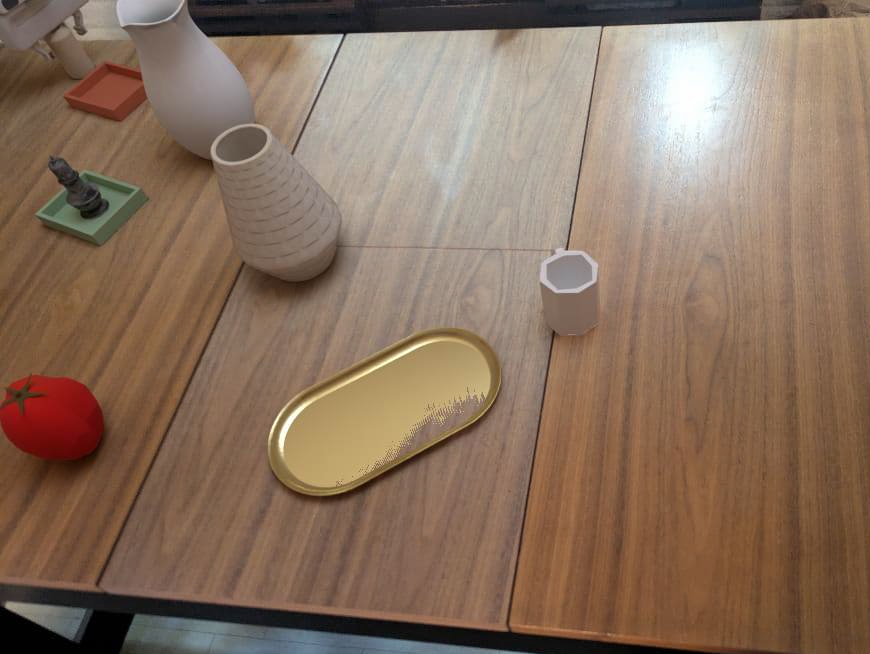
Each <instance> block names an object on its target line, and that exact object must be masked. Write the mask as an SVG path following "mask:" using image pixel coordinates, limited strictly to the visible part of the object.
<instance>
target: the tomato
mask: <svg viewBox="0 0 870 654" xmlns="http://www.w3.org/2000/svg"><path fill="white" fill-rule="evenodd" d="M4 389H5V390H6V392H5V399H4V400H2V401H1V403H0V427H1V429H2V432H4V435H5V437H6V438H7V439H8V441H10V442H11V444H12V445H14V447H16V448H17V449H18V450H20V451H21V452H23V453H25V454H28V455H31V456H35V457H38V458H41V459H45V460H51V461H68V460H69V461H70V460H78V459H81V458H82V457H84V456H87V455H89V454H91V453H92V452H93V451H94V450H95V449H96V448H97V447H98V446H99V443H100V440H101V438H102V435H103V432H104V429H105V422H104V413H103V410H102V408H101V405H100V404H99V401H98V400H97V398H96V397H95V395H94V394H93V392H92V391H91V390H90V389H89V388H88V386H87V384H84V383H82V382H80V381H78V380H76V379H75V378H70V377H64V376H63V377H59V376H58V377H50V376H47V375H41V374H33V372H31V373H30V374H29V375H28V376H25V377H23V378H21V379H17V380H15V381H12V382H11V383H10V384H9V385H8V387H4Z"/></svg>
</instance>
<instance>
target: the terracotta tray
mask: <svg viewBox="0 0 870 654" xmlns="http://www.w3.org/2000/svg"><path fill="white" fill-rule="evenodd" d="M62 97H63V98H64V100H65V101H66V103H67V104H68V105H69V107H71V108H74V109H78V110H79V111H84V112H87V113H91V114H94V115H98V116H100V117H104V118H107V119H111V120H113V121H118V122H122V121H123V120H125V119H126V117H128V116H129V115H130V114H131V113H132V112H134V110H136V108H138V107H139V106H140V105H141V104H143V102H144V101H146V100H147V99H148V98H147V95H146V91H145V88H144V84H143V79H142V74H141V69H140V68H136V67H132V66H128V65H125V64H124V65H123V64H120V63H116V62H112V61H109V60H103V61H102V62H101V63H100V64H99V65H98V66H96V67H95V69H94V70H93V71H92V72H91V73H89V74H88V75H87V76H86V77H85V78H82V79H80V81H79V82H77V83H76V84H75V85H74V86H72V87H71V88H70V89H69V90H68V91H66V92H65V93H64V94H62Z"/></svg>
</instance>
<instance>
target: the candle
mask: <svg viewBox="0 0 870 654" xmlns="http://www.w3.org/2000/svg"><path fill="white" fill-rule="evenodd" d="M42 39H43V40H44V42H45V43H46V45H47V46H48V47H49V50H51V51H52V53H53V55H55V57H56V59H57V61H59V63H60V64H61V65H62V67H63V69H65V71H66V72H67V74H68V75H69V77H70V78H71V79H74V80H82V79H83V78H85V77H86V76H87V75H88V74H89V73H91V72H92V71H93V70H94V69H95V68H96V66H95V64H94V62H93V60H92V59H91V58H90V56H89V55H88V53H87V52H86V51H85V49H84V47H83V46H82V45H81V43H80V42H79V40H78V39H77V38H76V36H75V34H74V32H72V30H71V29H70V28H69V26H66V25H63V24H60V25H58V26H57V27H56V28H55V29H53V30H52V31H51V32H49V33H48V34H47V35H46V36H44V37H43V38H42Z"/></svg>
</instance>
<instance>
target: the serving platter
mask: <svg viewBox="0 0 870 654" xmlns="http://www.w3.org/2000/svg"><path fill="white" fill-rule="evenodd" d="M502 373H503V372H502V365H501V361H500V358H499V357H498V354H497V351H496V350H495V349H494V348H493V346H492V345H491V344H490V343H489V342H488V341H487V340H486V339H485V338H483V337H482V336H480V335H478V334H477V333H475V332H472V331H471V330H468V329H465V328H460V327H456V326H455V327H454V326H437V327H431V328H426V329H423V330H420V331H417V332H414V333H412V334H410V335H408V336H407V337H404V338H402V339H400V340H398V341H397V342H394V343H392V344H391V345H389V346H387V347H385V348H383V349H381V350H379V351H377V352H375V353H372V354H371V355H369V356H367V357H365V358H363V359H361V360H360V361H357V362H355V363H353V364H351V365H349V366H348V367H345V368H344V369H341V370H339V371H338V372H336V373H334V374H332V375H330V376H328V377H326V378H324V379H322V380H320V381H318V382H316V383H315V384H313V385H310V386H308V387H307V388H305V389H304V390H302V391H301V392H299V393H298V394H296V395H295V396H294V397H292V398H291V399H290V400H289V401H288V402H287V403H286V405H284V407H282V409H281V410H280V412H279V413H278V415H276V418H275V420H274V422H273V424H272V426H271V428H270V430H269V431H270V432H269V435H268V440H267V457H268V462H269V464H270V467H271V469H272V471H273V473H274V475H275V476H276V477H277V478H278V480H279V481H280V482H281V483H283V485H285V486H286V487H287V488H289V489H291V490H292V491H295V492H296V493H299V494H302V495H305V496H312V497H331V496H337V495H341V494H344V493H348V492H350V491H353V490H355V489H357V488H359V487H361V486H362V485H365V484H366V483H368V482H370V481H372V480H373V479H375V478H377V477H379V476H381V475H382V474H384V473H386V472H388V471H390V470H392V469H394V468H395V467H398V466H399V465H401V464H403V463H404V462H406V461H408V460H410V459H412V458H414V457H415V456H417V455H419V454H421V453H423V452H424V451H426V450H428V449H430V448H432V447H433V446H435V445H438V444H439V443H441V442H443V441H445V440H446V439H448V438H450V437H452V436H453V435H455V434H458V433H459V432H461V431H463V430H465V429H467V428H469V427H470V426H471V425H473V424H475V422H477V421H479V420H480V419H481V418H482V417H483V416H484V415H485V414H486V413H487V412H488V411H489V410H490V408H491V407H492V405H493V404H494V402H495V400H496V398H497V397H498V394H499V391H500V389H501V384H502V375H503V374H502ZM467 387H468V391H469V394H468V392H467ZM474 389H475V392H474ZM482 392H483V395H484V397H485V402H484V405H482V407H480V409H478V411H477V413H475V415H474V416H472V417H470V419H468V420H467V421H465V422H463V423H461V424H460V425H459V426H457V427H455V428H453V429H452V428H451V430H450V429H449V431H448V430H447V432H444V434H443V433H442V435H441V434H440V436H439V435H438V437H437V436H436V438H434V439H433V440H431V441H429V442H428V443H425V444H423V445H421V447H420V446H419V448H417V447H416V449H414V450H412V451H409V452H408V454H407V453H406V454H405V455H403V456H400V457H398V458H395V460H394V457H395V455H396V453H397V450H398V448H399V446H400V447H401V445H402V443H403V444H404V442H405V439H406V436H407V438H408V436H409V438H410V435H411V437H412V434H413V431H414V428H415V430H416V427H417V429H418V425H419V422H420V424H421V421H422V423H423V419H424V422H425V418H426V420H427V416H428V419H429V415H430V417H431V413H432V415H433V418H434V420H435V417H434V414H435V416H436V412H437V414H438V410H439V412H440V415H441V411H440V408H441V410H442V413H443V408H444V411H445V413H446V408H447V411H448V413H449V410H448V406H449V409H450V411H451V406H452V409H453V403H454V397H455V400H456V403H457V402H459V403H460V406H461V402H460V399H459V397H461V400H462V403H463V401H464V400H465V402H466V396H467V399H468V395H470V398H471V399H473V396H474V395H477V398H478V401H479V403H480V398H481V399H482V397H481V394H482ZM459 395H460V396H459ZM449 400H450V403H451V404H449ZM475 400H476V399H475ZM468 401H469V400H468ZM482 401H483V399H482ZM433 403H434V406H435V408H434V407H433ZM444 403H445V405H444ZM428 404H429V407H430V410H431V411H430V410H429V408H428ZM439 405H440V406H439ZM445 406H446V408H445ZM454 406H455V403H454ZM477 406H478V405H477ZM431 407H432V408H433V410H432V408H431ZM424 408H425V409H424ZM426 408H427V409H428V411H427V409H426ZM461 408H462V407H461ZM435 409H436V411H435ZM459 410H460V409H459ZM425 411H426V412H425ZM433 411H434V414H433ZM453 411H454V409H453ZM456 411H457V410H456ZM463 412H464V411H463ZM451 413H452V411H451ZM454 413H455V412H454ZM457 413H458V412H457ZM460 413H461V410H460ZM424 415H425V416H424ZM443 415H444V413H443ZM446 415H447V414H446ZM449 415H450V414H449ZM438 417H439V419H440V421H441V423H442V419H443V421H444V417H445V415H444V417H443V416H442V415H441V417H442V418H441V417H440V416H439V414H438ZM438 417H437V416H436V418H437V420H438ZM447 417H448V416H447ZM431 419H432V417H431ZM445 419H446V417H445ZM429 421H430V419H429ZM427 422H428V420H427ZM432 422H433V421H432ZM435 422H436V421H435ZM438 422H439V420H438ZM417 423H418V425H417ZM444 423H445V422H444ZM415 424H416V426H415ZM425 424H426V422H425ZM433 424H434V423H433ZM436 424H437V423H436ZM439 424H440V423H439ZM413 425H414V426H413ZM423 425H424V423H423ZM442 425H443V423H442ZM421 426H422V424H421ZM440 426H441V425H440ZM419 427H420V425H419ZM412 429H413V431H412ZM410 430H411V431H410ZM420 430H421V429H420ZM418 431H419V430H418ZM411 432H412V434H411ZM416 432H417V431H416ZM414 433H415V431H414ZM405 434H406V435H405ZM407 434H408V435H407ZM413 436H414V434H413ZM404 437H405V439H404ZM409 438H408V440H409ZM410 439H411V438H410ZM403 440H404V442H403ZM392 441H393V442H392ZM399 441H400V442H399ZM401 441H402V442H401ZM406 441H407V439H406ZM409 442H410V441H409ZM400 443H401V445H400ZM407 443H408V442H407ZM405 444H406V442H405ZM410 444H411V443H410ZM394 445H395V446H394ZM408 445H409V443H408ZM390 446H391V447H390ZM397 446H398V447H397ZM404 446H405V445H404ZM402 447H403V445H402ZM391 448H392V449H391ZM389 449H390V450H391V451H390V450H389ZM394 449H395V450H394ZM396 449H397V450H396ZM401 449H402V448H401ZM392 450H393V451H392ZM399 450H400V448H399ZM399 450H398V452H399ZM386 451H387V452H386ZM388 451H389V453H390V454H391V452H392V454H393V455H394V453H395V455H394V457H393V455H392V454H391V456H392V458H393V459H392V458H391V456H390V454H389V453H388ZM395 451H396V452H395ZM387 453H388V455H389V456H390V458H391V459H390V458H389V457H388V455H387ZM397 454H398V453H397ZM399 454H400V453H399ZM386 455H387V457H388V459H389V460H390V462H389V460H388V459H387V457H386ZM385 457H386V459H387V461H388V464H387V462H386V464H385V465H384V463H385V462H384V463H383V461H384V459H385ZM396 457H397V455H396ZM383 458H384V459H383ZM386 459H385V461H386ZM380 460H381V461H380ZM382 460H383V461H382ZM391 460H392V461H391ZM376 461H377V462H376ZM378 461H379V462H380V464H381V465H382V463H383V465H382V466H380V465H379V466H380V468H379V466H378V465H377V466H378V468H377V466H376V464H377V463H378V464H379V462H378ZM381 462H382V463H381ZM375 463H376V464H375ZM368 465H369V466H368ZM374 465H375V466H376V468H377V469H375V471H374V468H375V466H374ZM367 467H368V468H367ZM373 467H374V468H373ZM372 468H373V469H372ZM360 469H361V470H360ZM362 469H363V470H362ZM366 469H367V470H366ZM371 470H372V471H371ZM359 471H360V472H359ZM365 471H366V472H367V473H366V472H365ZM363 474H364V475H363ZM365 474H366V475H365ZM352 476H353V477H352ZM342 479H343V480H342ZM337 481H338V482H339V484H340V485H339V484H338V482H337ZM341 481H342V482H341ZM351 481H352V482H351ZM336 482H337V483H336ZM337 484H338V485H337ZM341 484H342V486H341ZM336 485H337V487H336Z"/></svg>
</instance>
